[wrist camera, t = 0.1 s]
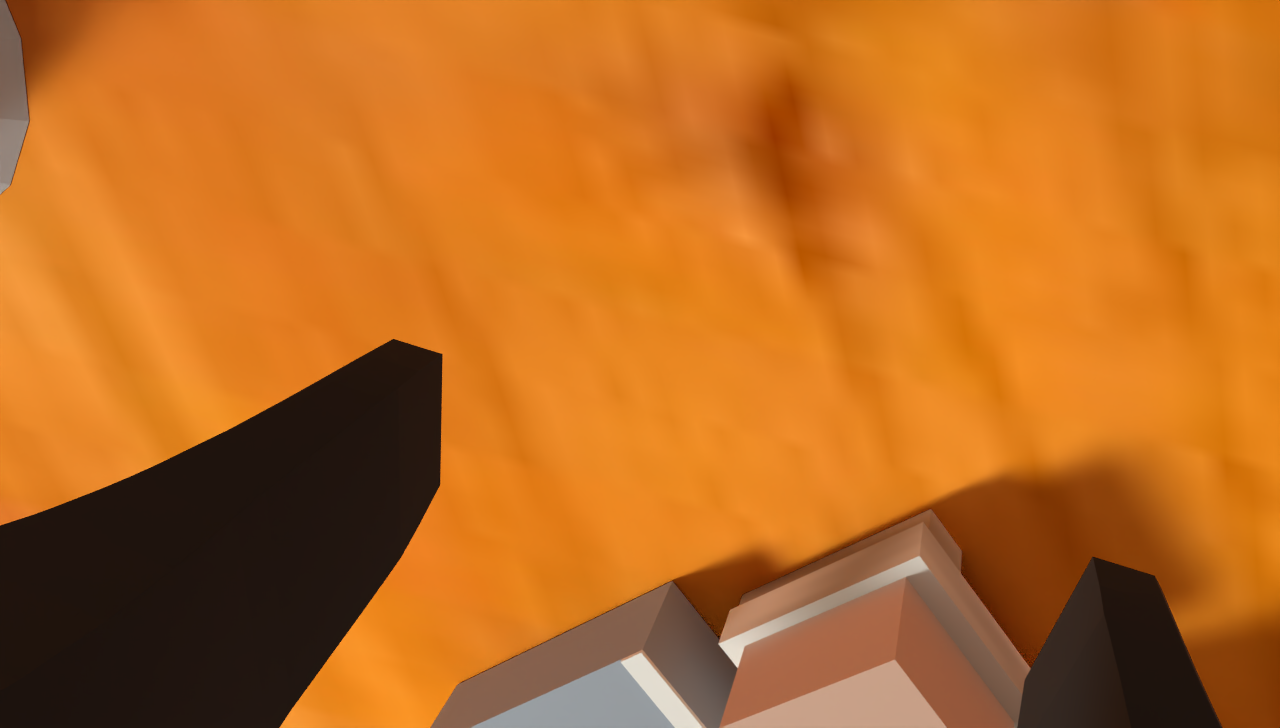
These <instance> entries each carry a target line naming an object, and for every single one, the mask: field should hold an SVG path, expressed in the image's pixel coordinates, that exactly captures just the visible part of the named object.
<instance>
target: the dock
mask: <svg viewBox="0 0 1280 728" xmlns="http://www.w3.org/2000/svg"><path fill="white" fill-rule="evenodd" d="M718 643H719V639H718V637H717V636H716V635H715V634H714V632H713V631H712V630H711V629H710V627H709V626H708V625H707V624H706V622H705V621H704V620H703V619H702V617H701V616H700V615H699V614H698V612H697V611H696V610H695V608H694V607H693V606H692V605H691V603H690V602H689V601H688V600H687V598H686V597H685V596H684V595H683V593H682V592H681V591H680V590H679V588H678V587H677V586H676V585H675V583H674V582H673V581H671V582H669V583H667V584H665V585H663V586H661V587H659V588H657V589H655V590H653V591H650V592H648V593H646V594H644V595H642V596H640V597H638V598H636V599H634V600H632V601H630V602H628V603H626V604H624V605H621V606H619V607H617V608H615V609H613V610H611V611H609V612H607V613H605V614H603V615H601V616H599V617H597V618H594V619H592V620H590V621H588V622H586V623H584V624H582V625H580V626H578V627H576V628H574V629H572V630H570V631H568V632H565V633H563V634H561V635H559V636H557V637H555V638H553V639H551V640H549V641H547V642H545V643H543V644H541V645H539V646H536V647H534V648H532V649H530V650H528V651H526V652H524V653H522V654H520V655H518V656H516V657H514V658H512V659H510V660H507V661H505V662H503V663H501V664H499V665H497V666H495V667H493V668H491V669H489V670H487V671H485V672H483V673H481V674H478V675H476V676H474V677H472V678H470V679H468V680H466V681H464V682H462V683H460V684H458V685H457V686H456V688H455V689H454V691H453V692H452V694H451V696H450V697H449V699H448V700H447V702H446V704H445V705H444V707H443V708H442V710H441V712H440V713H439V715H438V716H437V718H436V720H435V721H434V723H433V724H432V726H431V727H430V728H719V727H720V723H721V720H722V717H723V714H724V711H725V708H726V704H727V701H728V698H729V695H730V692H731V688H732V685H733V682H734V679H735V676H736V672H737V669H738V668H737V667H736V665H735V664H734V663H733V662H732V660H731V659H730V658H729V657H728V655H727V654H726V653H725V652H724V650H723V649H722V648H721V647H720V645H719V644H718Z"/></svg>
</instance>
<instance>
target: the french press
mask: <svg viewBox="0 0 1280 728" xmlns="http://www.w3.org/2000/svg"><path fill="white" fill-rule="evenodd" d="M28 123H29V115H28V105H27V95H26V85H25V75H24V65H23V55H22V45H21V38H20V35H19V33H18V30H17V28H16V25H15V23H14V21H13V18H12V16H11V13H10V11H9V8H8V6H7V4H6V1H5V0H0V194H1V193H2V192H3V191H4V190H5V189H7V188H8V187H9V186H10V184H11V181H12V177H13V174H14V171H15V167H16V164H17V160H18V157H19V154H20V150H21V147H22V144H23V140H24V137H25V133H26V130H27V127H28Z"/></svg>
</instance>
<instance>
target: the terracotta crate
mask: <svg viewBox="0 0 1280 728" xmlns="http://www.w3.org/2000/svg"><path fill="white" fill-rule="evenodd" d="M719 728H1014V721H1013V720H1012V719H1011V717H1010V716H1009V715H1008V713H1007V712H1006V711H1005V709H1004V708H1003V707H1002V705H1001V704H1000V703H999V701H998V700H997V698H996V697H995V696H994V694H993V693H992V692H991V690H990V689H989V688H988V686H987V685H986V684H985V682H984V681H983V680H982V678H981V677H980V676H979V674H978V673H977V672H976V670H975V669H974V668H973V666H972V665H971V664H970V662H969V661H968V660H967V658H966V657H965V656H964V654H963V653H962V652H961V650H960V649H959V647H958V646H957V645H956V643H955V642H954V641H953V639H952V638H951V637H950V635H949V634H948V633H947V631H946V630H945V629H944V627H943V626H942V625H941V623H940V622H939V621H938V619H937V618H936V617H935V615H934V614H933V613H932V611H931V610H930V609H929V607H928V606H927V605H926V603H925V602H924V601H923V599H922V598H921V596H920V595H919V594H918V592H917V591H916V590H915V588H914V587H913V586H912V584H911V583H910V582H909V580H908V579H907V578H906V577H904V578H902V579H900V580H897V581H895V582H893V583H890V584H888V585H886V586H883V587H881V588H879V589H876V590H874V591H872V592H869V593H867V594H865V595H862V596H860V597H858V598H855V599H853V600H851V601H848V602H846V603H844V604H841V605H839V606H837V607H835V608H832V609H830V610H828V611H825V612H823V613H821V614H818V615H816V616H814V617H811V618H809V619H807V620H804V621H802V622H800V623H797V624H795V625H793V626H790V627H788V628H786V629H783V630H781V631H779V632H776V633H774V634H772V635H769V636H767V637H765V638H762V639H760V640H758V641H755V642H753V643H751V644H748V645H746V646H745V647H744V650H743V653H742V656H741V660H740V663H739V666H738V669H737V672H736V676H735V679H734V682H733V685H732V688H731V692H730V695H729V698H728V701H727V704H726V708H725V711H724V714H723V717H722V720H721V723H720V727H719Z"/></svg>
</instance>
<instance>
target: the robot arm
mask: <svg viewBox="0 0 1280 728" xmlns="http://www.w3.org/2000/svg"><path fill="white" fill-rule="evenodd" d="M441 404H442V354H440V353H437V352H434V351H430V350H427V349H424V348H421V347H417V346H414V345H411V344H408V343H405V342H401V341H398V340H395V339H393V340H391V341H389V342H387V343H385V344H383V345H381V346H380V347H378V348H376V349H374V350H372V351H371V352H369V353H367V354H365V355H363V356H362V357H360V358H358V359H356V360H354V361H353V362H351V363H349V364H347V365H345V366H344V367H342V368H340V369H338V370H337V371H335V372H333V373H331V374H330V375H328V376H326V377H324V378H322V379H321V380H319V381H317V382H315V383H314V384H312V385H310V386H308V387H306V388H305V389H303V390H301V391H299V392H298V393H296V394H294V395H292V396H290V397H289V398H287V399H285V400H283V401H281V402H279V403H278V404H276V405H274V406H272V407H270V408H268V409H266V410H265V411H263V412H261V413H259V414H257V415H255V416H253V417H252V418H250V419H248V420H246V421H244V422H242V423H240V424H239V425H237V426H235V427H233V428H231V429H229V430H227V431H225V432H223V433H221V434H219V435H217V436H215V437H213V438H211V439H209V440H207V441H205V442H203V443H201V444H198V445H196V446H194V447H192V448H190V449H188V450H186V451H184V452H182V453H180V454H178V455H176V456H174V457H172V458H170V459H168V460H166V461H164V462H161V463H159V464H157V465H155V466H153V467H151V468H149V469H147V470H144V471H142V472H140V473H138V474H135V475H133V476H131V477H128V478H126V479H124V480H121V481H119V482H117V483H114V484H112V485H109V486H107V487H105V488H102V489H100V490H97V491H95V492H92V493H90V494H87V495H84V496H82V497H79V498H77V499H74V500H72V501H69V502H66V503H64V504H61V505H59V506H56V507H54V508H51V509H48V510H45V511H43V512H40V513H37V514H34V515H31V516H28V517H25V518H22V519H19V520H16V521H13V522H10V523H7V524H4V525H1V526H0V728H279V727H280V726H281V724H282V723H283V721H284V720H285V718H286V717H287V715H288V714H289V712H290V711H291V709H292V708H293V707H294V705H295V704H296V702H297V701H298V700H299V698H300V697H301V696H302V694H303V693H304V691H305V690H306V689H307V687H308V686H309V685H310V683H311V682H312V680H313V679H314V678H315V676H316V675H317V673H318V672H319V671H320V669H321V668H322V667H323V665H324V664H325V662H326V661H327V660H328V658H329V657H330V656H331V654H332V653H333V651H334V650H335V649H336V647H337V646H338V645H339V643H340V642H341V640H342V639H343V638H344V636H345V635H346V634H347V632H348V631H349V629H350V628H351V627H352V625H353V624H354V623H355V621H356V620H357V618H358V617H359V616H360V614H361V613H362V612H363V610H364V609H365V607H366V606H367V605H368V603H369V602H370V600H371V599H372V598H373V596H374V595H375V593H376V592H377V591H378V589H379V588H380V586H381V585H382V584H383V582H384V581H385V579H386V578H387V577H388V575H389V574H390V572H391V571H392V570H393V568H394V567H395V565H396V564H397V562H398V561H399V559H400V558H401V556H402V555H403V553H404V551H405V549H406V547H407V546H408V544H409V542H410V540H411V538H412V537H413V535H414V533H415V531H416V529H417V528H418V526H419V524H420V522H421V520H422V518H423V516H424V514H425V513H426V511H427V509H428V507H429V505H430V503H431V501H432V499H433V497H434V495H435V494H436V492H437V490H438V488H439V486H440V461H441ZM1017 728H1222V726H1221V724H1220V722H1219V719H1218V717H1217V715H1216V713H1215V711H1214V709H1213V706H1212V704H1211V702H1210V700H1209V698H1208V696H1207V693H1206V691H1205V689H1204V687H1203V684H1202V682H1201V680H1200V678H1199V675H1198V673H1197V671H1196V669H1195V666H1194V664H1193V662H1192V660H1191V657H1190V655H1189V653H1188V650H1187V648H1186V646H1185V643H1184V641H1183V639H1182V636H1181V634H1180V632H1179V629H1178V627H1177V625H1176V622H1175V620H1174V617H1173V615H1172V613H1171V610H1170V608H1169V606H1168V603H1167V601H1166V599H1165V596H1164V594H1163V592H1162V589H1161V587H1160V585H1159V583H1158V581H1157V580H1156V578H1155V576H1153V575H1150V574H1147V573H1144V572H1140V571H1137V570H1134V569H1131V568H1128V567H1124V566H1121V565H1118V564H1115V563H1112V562H1108V561H1105V560H1102V559H1099V558H1095V557H1092V559H1091V561H1090V562H1089V564H1088V566H1087V568H1086V570H1085V572H1084V573H1083V575H1082V577H1081V579H1080V581H1079V582H1078V584H1077V586H1076V588H1075V590H1074V591H1073V593H1072V595H1071V597H1070V599H1069V600H1068V602H1067V604H1066V606H1065V608H1064V609H1063V611H1062V613H1061V615H1060V617H1059V619H1058V620H1057V622H1056V624H1055V626H1054V628H1053V629H1052V631H1051V633H1050V635H1049V637H1048V638H1047V640H1046V642H1045V644H1044V646H1043V647H1042V649H1041V651H1040V653H1039V655H1038V656H1037V658H1036V660H1035V662H1034V664H1033V665H1032V667H1031V669H1030V671H1029V673H1028V675H1027V676H1026V678H1025V681H1024V687H1023V694H1022V700H1021V706H1020V713H1019V719H1018V726H1017Z"/></svg>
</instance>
